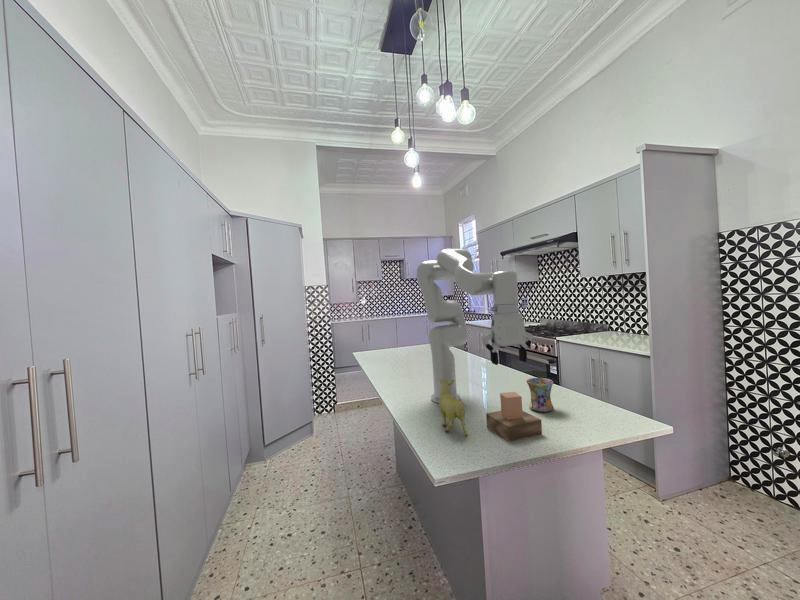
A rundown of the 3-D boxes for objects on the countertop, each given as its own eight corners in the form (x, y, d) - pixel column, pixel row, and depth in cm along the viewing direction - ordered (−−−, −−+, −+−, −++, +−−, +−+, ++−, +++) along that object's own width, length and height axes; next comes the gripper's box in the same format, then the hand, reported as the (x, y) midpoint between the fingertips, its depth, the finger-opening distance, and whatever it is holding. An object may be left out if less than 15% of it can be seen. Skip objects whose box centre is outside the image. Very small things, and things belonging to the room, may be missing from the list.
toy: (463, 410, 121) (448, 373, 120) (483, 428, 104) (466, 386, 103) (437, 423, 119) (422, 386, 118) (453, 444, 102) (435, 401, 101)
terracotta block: (501, 414, 108) (500, 393, 107) (516, 412, 108) (514, 391, 108) (507, 419, 103) (506, 397, 102) (522, 418, 103) (521, 396, 103)
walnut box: (486, 428, 109) (486, 413, 109) (517, 421, 113) (516, 407, 113) (509, 443, 98) (508, 426, 97) (542, 435, 101) (541, 419, 101)
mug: (560, 412, 117) (558, 383, 117) (534, 414, 117) (533, 385, 117) (544, 401, 129) (542, 375, 129) (521, 403, 129) (519, 376, 129)
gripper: (485, 312, 99) (488, 367, 100) (537, 308, 102) (540, 362, 103) (476, 311, 107) (479, 362, 107) (524, 307, 110) (527, 357, 110)
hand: (509, 362), depth 105 cm, fingers open, 9 cm apart
